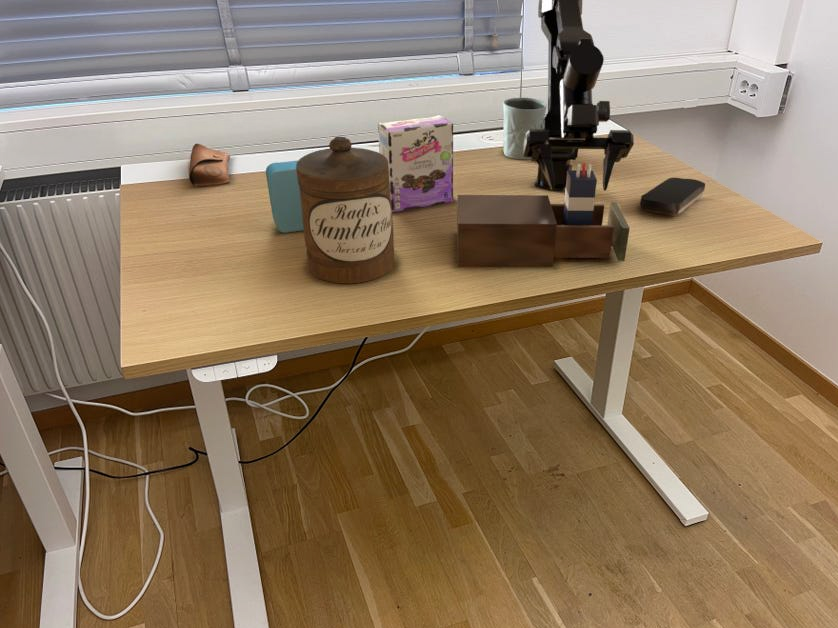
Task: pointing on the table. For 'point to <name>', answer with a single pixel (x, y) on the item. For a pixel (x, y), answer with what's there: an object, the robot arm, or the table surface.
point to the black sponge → (672, 196)
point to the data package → (285, 196)
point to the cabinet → (505, 231)
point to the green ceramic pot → (520, 123)
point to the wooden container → (346, 212)
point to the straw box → (579, 196)
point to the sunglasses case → (208, 166)
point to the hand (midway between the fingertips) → (579, 189)
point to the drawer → (592, 234)
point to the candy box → (418, 161)
